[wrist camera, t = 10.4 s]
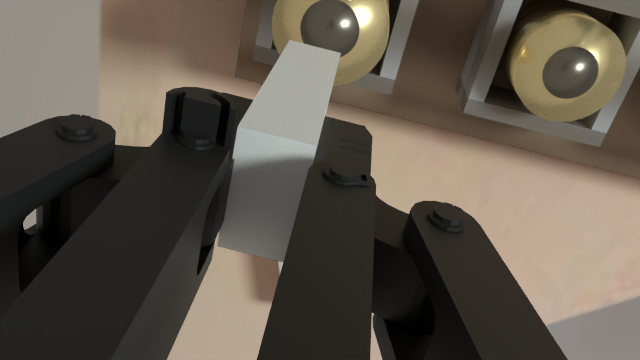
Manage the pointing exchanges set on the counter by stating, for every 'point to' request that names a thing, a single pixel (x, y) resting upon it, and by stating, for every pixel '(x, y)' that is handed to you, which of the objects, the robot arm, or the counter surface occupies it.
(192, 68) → the counter surface
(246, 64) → the mount
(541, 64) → the knob middle
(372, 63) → the knob
